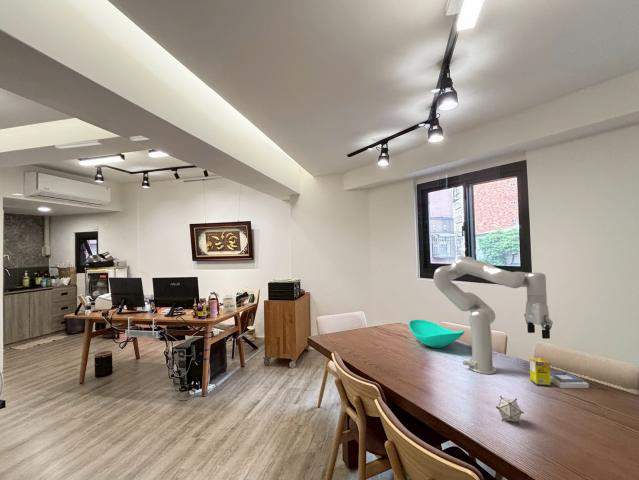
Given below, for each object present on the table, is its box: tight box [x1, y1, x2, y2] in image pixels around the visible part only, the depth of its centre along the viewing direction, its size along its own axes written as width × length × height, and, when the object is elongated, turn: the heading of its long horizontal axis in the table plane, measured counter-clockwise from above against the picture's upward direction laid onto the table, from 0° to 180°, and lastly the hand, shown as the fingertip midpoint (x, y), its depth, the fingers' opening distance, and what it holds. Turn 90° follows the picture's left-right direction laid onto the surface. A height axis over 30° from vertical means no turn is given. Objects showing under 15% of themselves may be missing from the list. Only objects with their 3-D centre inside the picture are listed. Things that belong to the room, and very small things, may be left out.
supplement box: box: [528, 357, 551, 387], centre depth 141 cm, size 6×6×11 cm
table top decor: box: [408, 319, 465, 349], centre depth 199 cm, size 40×28×13 cm
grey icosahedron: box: [495, 395, 525, 425], centre depth 111 cm, size 9×8×10 cm
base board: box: [550, 371, 590, 389], centre depth 142 cm, size 12×12×3 cm
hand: (538, 335), depth 142 cm, fingers open, 9 cm apart
